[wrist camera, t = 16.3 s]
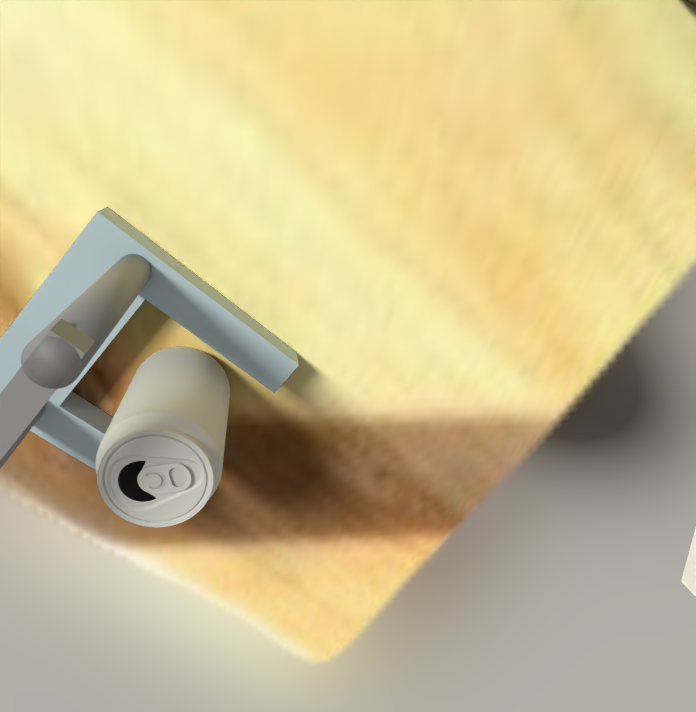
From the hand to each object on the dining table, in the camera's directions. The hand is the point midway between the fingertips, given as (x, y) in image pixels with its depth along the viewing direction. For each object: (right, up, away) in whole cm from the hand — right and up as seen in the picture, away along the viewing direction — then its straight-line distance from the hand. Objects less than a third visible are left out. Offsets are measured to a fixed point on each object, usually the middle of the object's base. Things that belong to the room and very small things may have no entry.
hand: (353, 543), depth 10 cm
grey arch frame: (-13, +2, +30) cm, 33 cm away
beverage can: (-11, +1, +31) cm, 33 cm away
